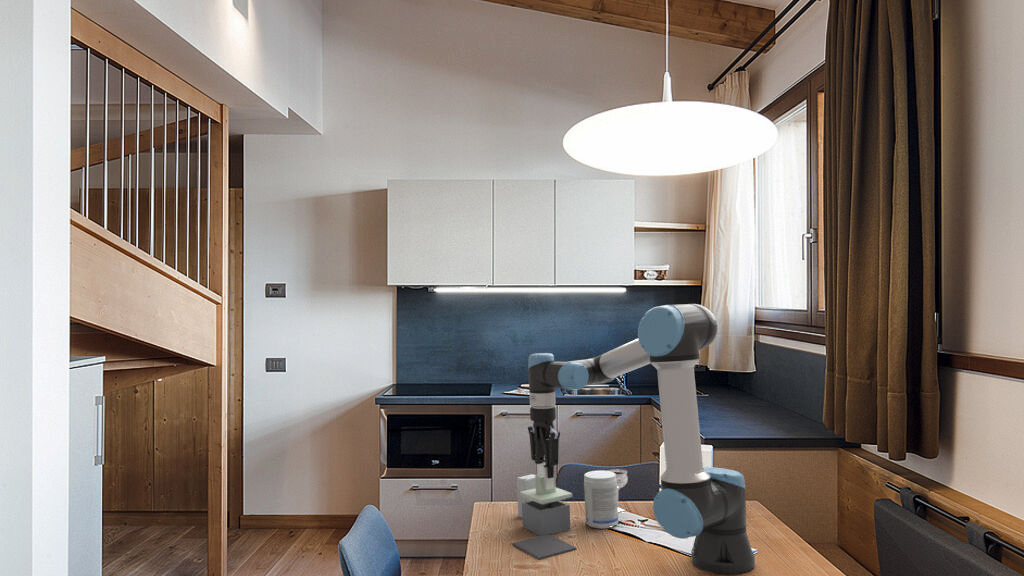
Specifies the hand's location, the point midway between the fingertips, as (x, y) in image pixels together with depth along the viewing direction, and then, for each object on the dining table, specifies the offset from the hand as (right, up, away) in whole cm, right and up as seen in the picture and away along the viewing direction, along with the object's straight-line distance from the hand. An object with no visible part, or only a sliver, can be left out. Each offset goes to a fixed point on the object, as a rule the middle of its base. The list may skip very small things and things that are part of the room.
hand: (545, 487), depth 200 cm
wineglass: (+23, -12, +14) cm, 30 cm away
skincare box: (-4, -12, +11) cm, 17 cm away
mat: (-1, -12, -15) cm, 19 cm away
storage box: (0, -12, 0) cm, 12 cm away
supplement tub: (+17, -12, +2) cm, 20 cm away
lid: (0, -3, 0) cm, 3 cm away
